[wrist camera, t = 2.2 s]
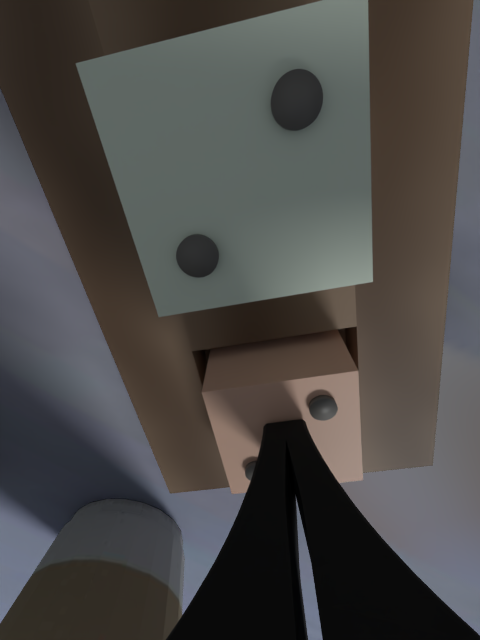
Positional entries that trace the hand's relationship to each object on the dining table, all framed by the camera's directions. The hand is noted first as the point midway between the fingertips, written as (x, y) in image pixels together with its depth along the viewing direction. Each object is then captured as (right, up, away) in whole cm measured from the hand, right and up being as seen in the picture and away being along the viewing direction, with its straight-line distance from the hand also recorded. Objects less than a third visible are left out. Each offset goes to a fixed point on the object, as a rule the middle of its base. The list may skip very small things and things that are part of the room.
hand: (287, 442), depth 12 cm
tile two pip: (-2, +8, -2) cm, 9 cm away
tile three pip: (0, +1, +3) cm, 3 cm away
